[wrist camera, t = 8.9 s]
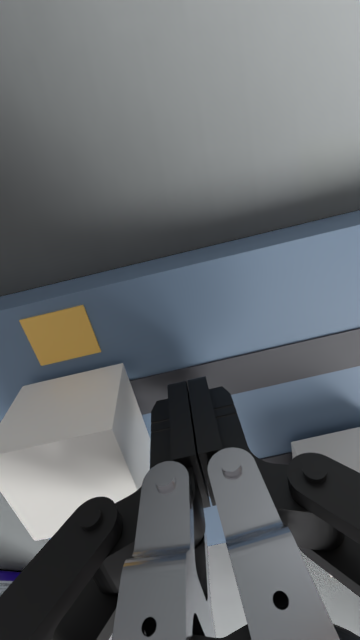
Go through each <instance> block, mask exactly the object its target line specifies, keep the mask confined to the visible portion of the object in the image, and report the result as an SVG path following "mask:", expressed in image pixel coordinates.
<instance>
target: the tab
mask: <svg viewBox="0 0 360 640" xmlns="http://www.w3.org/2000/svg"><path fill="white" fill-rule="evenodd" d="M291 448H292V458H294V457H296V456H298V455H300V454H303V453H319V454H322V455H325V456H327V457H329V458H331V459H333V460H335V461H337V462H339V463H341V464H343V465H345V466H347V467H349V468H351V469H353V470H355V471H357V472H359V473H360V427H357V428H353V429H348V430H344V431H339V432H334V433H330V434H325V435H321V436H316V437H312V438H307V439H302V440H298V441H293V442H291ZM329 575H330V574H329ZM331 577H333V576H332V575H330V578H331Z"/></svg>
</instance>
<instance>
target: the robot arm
mask: <svg viewBox="0 0 360 640" xmlns="http://www.w3.org/2000/svg"><path fill="white" fill-rule="evenodd" d="M187 382H188V385H187ZM187 382H186V381H182V382H178V383H173V384H169V385H167V389H168V399H163V400H159V401H156V403H155V405H154V407H153V409H152V411H151V442H150V470H149V471H148V472H147V474H146V475H145V477H144V479H143V482H142V486H141V487H140V488H139V489H138V490H137V491H136V492H134V493H133V494H131V495H129V496H127V497H126V498H124V499H122V500H120V501H118V502H116V503H114V502H113V500H111V499H110V498H107V497H95V498H92V499H89V500H87V501H86V502H84V503H83V504H82V505H80V506H79V507H78V508H77V509H76V510H75V511H74V513H73V514H72V515H71V516H70V517H69V518H68V519H67V521H66V522H65V523H64V524H63V525H62V526H61V527H60V529H59V530H58V531H57V532H56V533H55V534H54V535H53V537H52V538H51V539H50V540H49V541H48V542H47V543H46V545H45V546H44V547H43V548H42V549H41V550H40V551H39V552H38V554H37V555H36V556H35V557H34V558H33V559H32V560H31V562H30V563H29V564H28V565H27V566H26V567H25V568H24V570H23V571H22V572H21V573H20V574H19V575H18V576H17V578H16V579H15V580H14V581H13V582H12V583H11V584H10V585H9V587H8V588H7V589H6V590H5V591H4V592H3V593H2V595H1V596H0V640H109V638H110V636H111V635H112V640H360V637H359V636H357V635H356V634H354V633H352V632H350V631H349V630H347V629H344V628H342V627H340V626H337V625H335V624H333V623H332V621H331V619H330V617H329V614H328V612H327V610H326V608H325V606H324V603H323V601H322V599H321V597H320V594H319V592H318V590H317V588H316V586H315V583H314V581H313V579H312V577H311V575H310V572H309V570H308V568H307V566H306V564H305V561H304V559H303V557H302V555H301V552H300V550H301V551H302V552H303V553H304V554H305V555H306V556H307V557H308V558H310V559H311V560H312V561H314V562H315V563H316V564H317V565H319V566H320V567H321V568H323V569H324V570H325V571H327V572H328V573H329V574H330V575H332V576H333V577H334V578H336V579H337V580H338V581H340V582H341V583H342V584H343V585H345V586H346V587H347V588H349V589H350V590H351V591H352V592H354V593H355V594H356V595H358V596H359V597H360V473H359V472H357V471H355V470H353V469H351V468H349V467H347V466H345V465H343V464H341V463H339V462H337V461H335V460H333V459H331V458H329V457H327V456H325V455H322V454H319V453H303V454H300V455H298V456H296V457H294V458H293V459H292V460H291V461H290V463H289V465H285V464H274V463H268V462H265V461H263V460H261V459H259V458H257V457H256V456H255V455H254V454H253V453H252V452H251V451H250V449H249V447H248V445H247V442H246V439H245V436H244V433H243V430H242V427H241V423H240V420H239V417H238V414H237V411H236V408H235V406H234V402H233V399H232V396H231V394H230V393H229V392H228V391H227V390H226V389H225V388H224V387H223V386H221V387H216V388H212V389H209V388H208V384H207V380H206V376H204V377H199V378H195V379H190V380H187ZM208 491H209V494H208ZM209 495H210V499H211V502H212V506H215V505H216V506H217V509H218V513H219V517H220V521H221V525H222V528H223V532H224V536H225V540H226V544H227V548H228V552H229V555H230V559H231V563H232V567H233V571H234V575H235V578H236V582H237V586H238V590H239V594H240V597H241V601H242V605H243V609H244V613H245V616H246V620H247V625H245V626H243V627H242V628H240V629H238V630H237V631H235V632H233V633H232V634H230V635H228V636H226V637H224V638H216V632H215V625H214V620H213V614H212V606H211V592H210V577H209V562H208V546H207V534H206V530H205V528H206V524H205V516H204V509H203V508H207V507H211V506H210V500H209ZM298 547H299V548H298ZM299 549H300V550H299ZM112 633H113V634H112Z"/></svg>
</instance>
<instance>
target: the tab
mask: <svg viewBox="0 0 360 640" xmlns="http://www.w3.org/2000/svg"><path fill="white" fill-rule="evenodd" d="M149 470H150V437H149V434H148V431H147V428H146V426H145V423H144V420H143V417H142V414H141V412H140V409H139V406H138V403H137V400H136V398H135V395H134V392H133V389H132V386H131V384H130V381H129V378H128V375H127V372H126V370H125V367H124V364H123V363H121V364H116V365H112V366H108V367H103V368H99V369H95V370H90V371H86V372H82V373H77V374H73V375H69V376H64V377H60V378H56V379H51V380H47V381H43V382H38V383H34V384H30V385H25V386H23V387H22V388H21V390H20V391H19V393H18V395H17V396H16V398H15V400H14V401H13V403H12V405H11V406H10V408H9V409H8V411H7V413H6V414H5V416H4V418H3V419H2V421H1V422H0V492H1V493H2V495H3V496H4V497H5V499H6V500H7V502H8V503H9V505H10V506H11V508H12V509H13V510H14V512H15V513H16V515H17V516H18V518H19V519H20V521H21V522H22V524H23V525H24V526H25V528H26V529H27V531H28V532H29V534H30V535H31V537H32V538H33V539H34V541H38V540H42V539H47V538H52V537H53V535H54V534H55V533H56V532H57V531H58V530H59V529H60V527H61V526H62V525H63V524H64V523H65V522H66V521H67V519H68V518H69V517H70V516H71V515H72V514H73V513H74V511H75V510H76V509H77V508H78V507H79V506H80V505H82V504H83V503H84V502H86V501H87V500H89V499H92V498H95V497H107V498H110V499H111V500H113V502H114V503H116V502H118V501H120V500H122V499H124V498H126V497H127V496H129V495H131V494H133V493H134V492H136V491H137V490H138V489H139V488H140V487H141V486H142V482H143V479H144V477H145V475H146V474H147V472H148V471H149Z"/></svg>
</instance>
